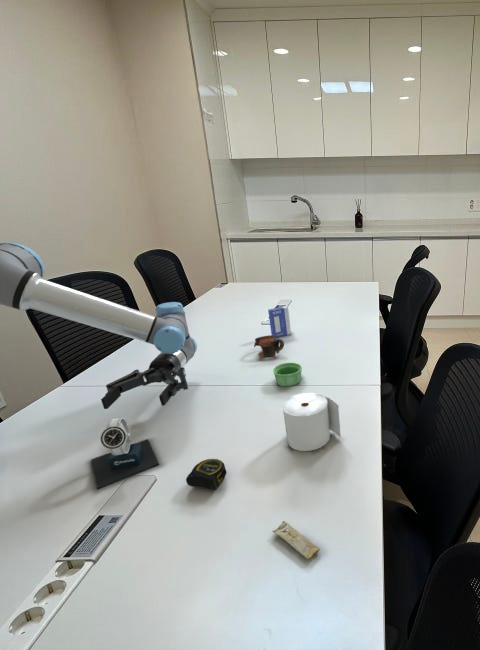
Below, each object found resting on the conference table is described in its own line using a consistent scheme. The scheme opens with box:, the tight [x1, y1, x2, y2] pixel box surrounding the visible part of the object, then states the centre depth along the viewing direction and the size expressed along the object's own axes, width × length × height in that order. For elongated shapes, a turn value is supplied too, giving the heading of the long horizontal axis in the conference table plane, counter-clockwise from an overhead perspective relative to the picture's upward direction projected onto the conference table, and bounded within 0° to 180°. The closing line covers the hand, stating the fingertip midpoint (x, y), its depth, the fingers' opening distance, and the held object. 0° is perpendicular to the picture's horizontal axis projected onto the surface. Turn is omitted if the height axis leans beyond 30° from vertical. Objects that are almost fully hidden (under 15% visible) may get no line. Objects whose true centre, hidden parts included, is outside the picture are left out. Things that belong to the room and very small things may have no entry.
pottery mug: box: [253, 334, 285, 360], centre depth 144 cm, size 12×9×8 cm
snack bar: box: [272, 520, 321, 559], centre depth 68 cm, size 10×2×3 cm
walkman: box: [267, 305, 292, 339], centre depth 160 cm, size 8×3×12 cm, turn 126°
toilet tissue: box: [282, 392, 342, 452], centre depth 95 cm, size 11×12×10 cm
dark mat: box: [90, 438, 160, 490], centre depth 89 cm, size 12×12×1 cm
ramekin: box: [272, 362, 303, 387], centre depth 124 cm, size 9×9×4 cm
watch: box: [100, 417, 143, 470], centre depth 87 cm, size 6×8×11 cm
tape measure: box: [185, 458, 228, 491], centre depth 82 cm, size 7×7×4 cm
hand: (133, 402), depth 94 cm, fingers open, 13 cm apart
